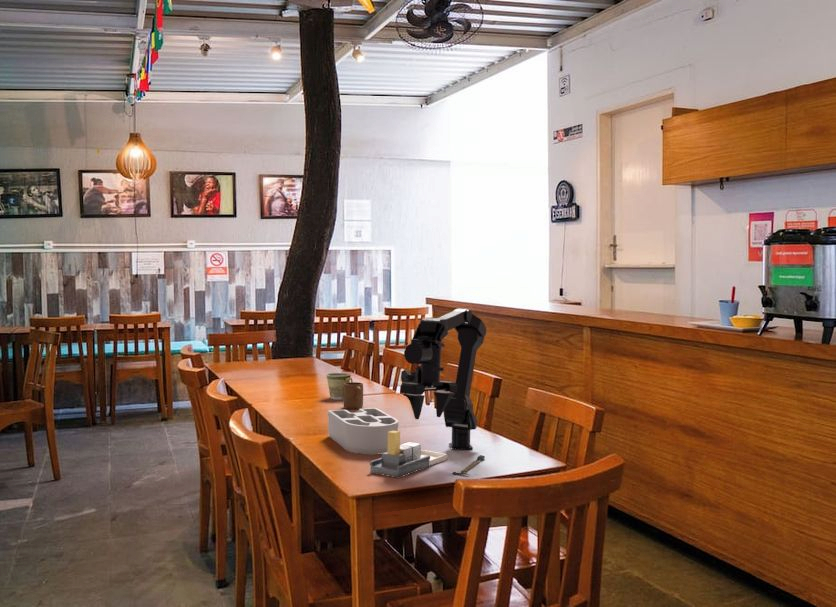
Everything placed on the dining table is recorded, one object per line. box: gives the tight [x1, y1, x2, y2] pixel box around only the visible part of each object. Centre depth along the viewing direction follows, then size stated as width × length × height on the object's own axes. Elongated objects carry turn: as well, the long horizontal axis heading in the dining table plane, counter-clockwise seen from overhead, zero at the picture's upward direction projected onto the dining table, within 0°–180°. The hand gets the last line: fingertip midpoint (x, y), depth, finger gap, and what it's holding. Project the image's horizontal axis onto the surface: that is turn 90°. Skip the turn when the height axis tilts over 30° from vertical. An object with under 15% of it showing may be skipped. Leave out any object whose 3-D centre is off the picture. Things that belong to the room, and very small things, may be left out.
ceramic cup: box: [326, 372, 354, 401], centre depth 325 cm, size 13×10×10 cm
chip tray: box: [421, 449, 449, 467], centre depth 225 cm, size 10×9×2 cm
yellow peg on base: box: [381, 430, 405, 467], centre depth 212 cm, size 3×6×9 cm, turn 57°
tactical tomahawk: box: [452, 454, 486, 478], centre depth 219 cm, size 21×7×1 cm, turn 156°
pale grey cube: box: [400, 444, 412, 463], centre depth 215 cm, size 4×4×4 cm
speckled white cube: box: [401, 441, 422, 461], centre depth 219 cm, size 4×4×4 cm
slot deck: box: [369, 456, 430, 478], centre depth 215 cm, size 15×10×3 cm, turn 147°
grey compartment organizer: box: [327, 407, 399, 455], centre depth 244 cm, size 17×28×9 cm, turn 21°
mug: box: [343, 381, 364, 410], centre depth 304 cm, size 12×8×9 cm, turn 22°
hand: (427, 418), depth 223 cm, fingers open, 9 cm apart
